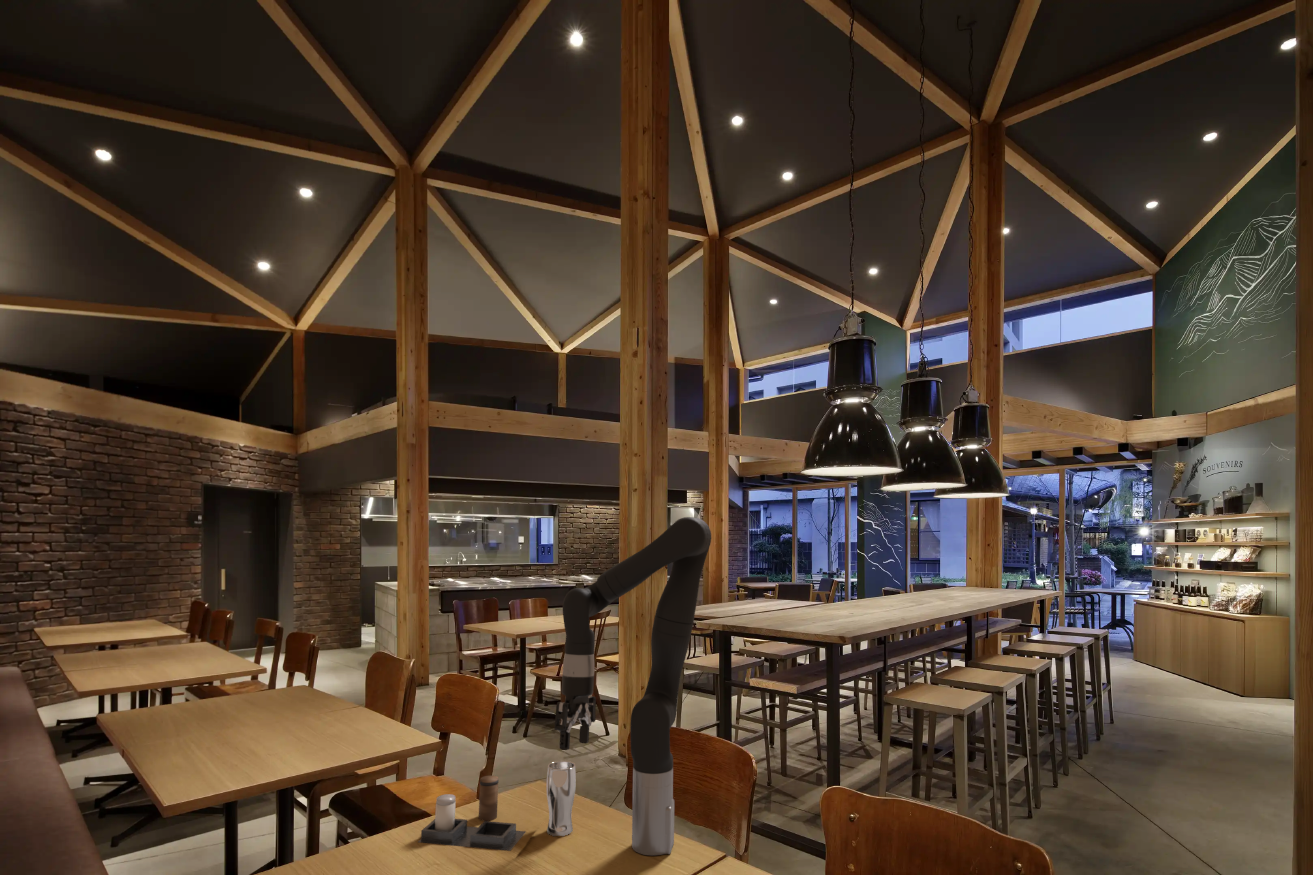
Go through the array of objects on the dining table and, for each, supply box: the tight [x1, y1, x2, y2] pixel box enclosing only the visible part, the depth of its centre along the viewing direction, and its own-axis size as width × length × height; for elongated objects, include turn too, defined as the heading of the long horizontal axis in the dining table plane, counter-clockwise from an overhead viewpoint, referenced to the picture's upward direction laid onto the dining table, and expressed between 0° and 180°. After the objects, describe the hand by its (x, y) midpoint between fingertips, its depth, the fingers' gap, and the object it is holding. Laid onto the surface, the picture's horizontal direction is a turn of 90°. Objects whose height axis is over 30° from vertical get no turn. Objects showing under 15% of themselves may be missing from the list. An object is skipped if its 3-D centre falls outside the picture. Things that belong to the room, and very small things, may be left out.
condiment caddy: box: [417, 818, 527, 852], centre depth 161 cm, size 22×10×3 cm, turn 81°
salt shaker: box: [434, 793, 457, 831], centre depth 163 cm, size 4×4×8 cm
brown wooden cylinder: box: [478, 775, 500, 822], centre depth 173 cm, size 4×4×10 cm
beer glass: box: [546, 760, 577, 837], centre depth 168 cm, size 7×7×15 cm
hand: (574, 745), depth 164 cm, fingers open, 8 cm apart
